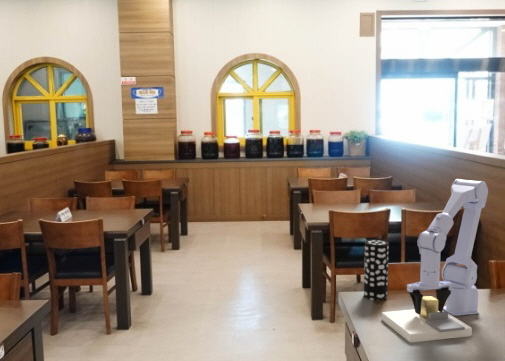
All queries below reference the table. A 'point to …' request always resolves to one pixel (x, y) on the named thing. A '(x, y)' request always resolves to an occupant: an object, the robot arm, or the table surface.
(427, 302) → the peg
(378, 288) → the white-spotted black cylinder
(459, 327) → the panel
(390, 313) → the socket base
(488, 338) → the table surface
